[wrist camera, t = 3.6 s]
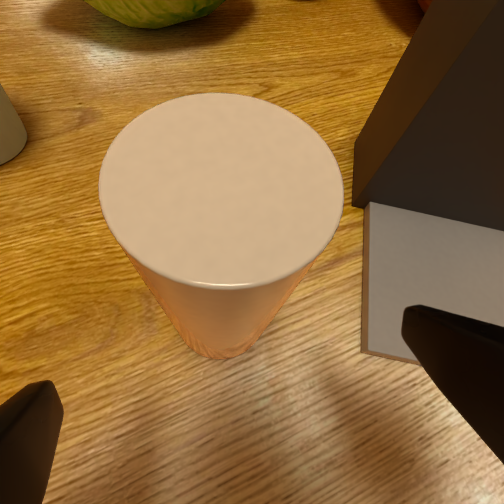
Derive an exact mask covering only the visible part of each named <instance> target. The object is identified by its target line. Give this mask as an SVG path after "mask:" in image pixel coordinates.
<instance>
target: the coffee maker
mask: <svg viewBox="0 0 504 504" xmlns="http://www.w3.org/2000/svg"><path fill="white" fill-rule="evenodd" d="M352 206H355V207H360V208H364V244H363V288H362V332H361V352H362V353H367V354H371V355H376V356H381V357H385V358H390V359H394V360H399V361H404V362H408V363H413V364H417V365H421V364H420V362H419V361H418V360H417V358H416V357H415V356H414V354H413V353H412V351H411V350H410V349H409V347H408V346H407V345H406V343H405V342H404V340H403V338H402V335H401V326H402V318H403V311H404V309H405V308H406V307H408V306H412V305H417V304H421V305H425V306H429V307H432V308H436V309H440V310H443V311H447V312H451V313H454V314H458V315H462V316H466V317H469V318H473V319H477V320H480V321H484V322H488V323H491V324H495V325H499V326H502V327H504V0H433V1H432V2H431V4H430V6H429V8H428V10H427V11H426V13H425V15H424V17H423V19H422V21H421V22H420V24H419V26H418V28H417V30H416V32H415V33H414V35H413V37H412V39H411V41H410V43H409V44H408V46H407V48H406V50H405V52H404V54H403V55H402V57H401V59H400V61H399V63H398V65H397V66H396V68H395V70H394V72H393V74H392V76H391V77H390V79H389V81H388V83H387V85H386V87H385V88H384V90H383V92H382V94H381V96H380V98H379V99H378V101H377V103H376V105H375V107H374V108H373V110H372V112H371V114H370V116H369V118H368V119H367V121H366V123H365V125H364V127H363V129H362V130H361V132H360V134H359V136H358V138H357V140H356V141H355V150H354V171H353V193H352Z"/></svg>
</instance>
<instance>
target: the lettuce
mask: <svg viewBox="0 0 504 504" xmlns="http://www.w3.org/2000/svg"><path fill="white" fill-rule="evenodd" d="M83 1H85V2H86V3H88V4H89V5H91V6H92V7H94V8H95V9H97V10H98V11H100V12H101V13H103V14H104V15H106V16H108V17H110V18H113V19H115V20H117V21H119V22H121V23H123V24H125V25H127V26H130V27H136V28H153V29H159V28H162V27H166V26H169V25H173V24H176V23H180V22H184V21H188V20H191V19H195V18H199V17H203V16H207V15H209V14H210V13H211V12H213V11H214V10H215V9H216V8H217V7H218V6H219V5H221V4H222V3H223V2H224V1H225V0H83Z"/></svg>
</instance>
